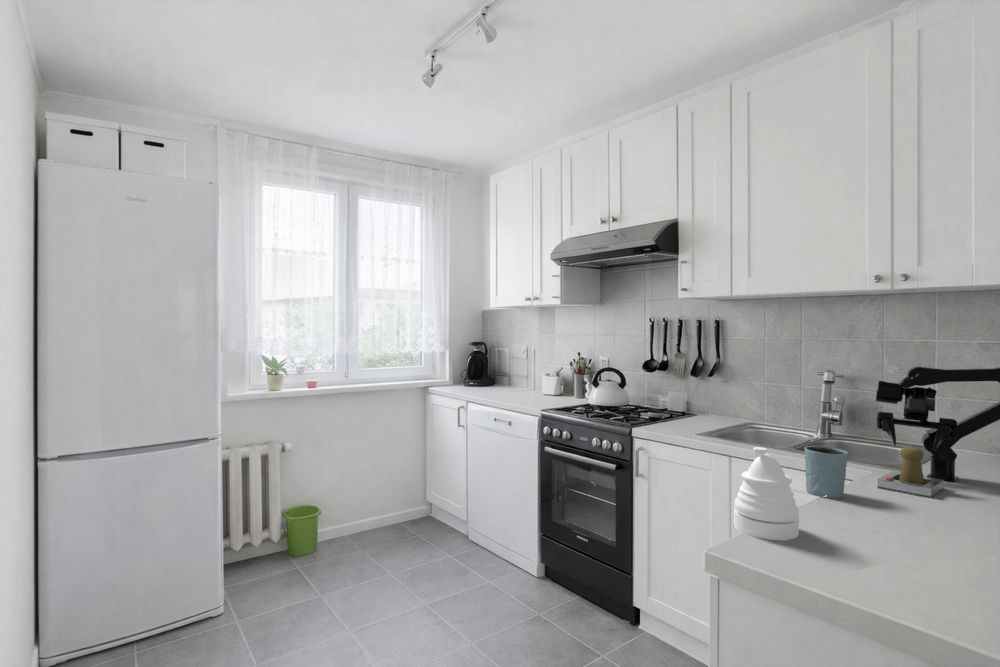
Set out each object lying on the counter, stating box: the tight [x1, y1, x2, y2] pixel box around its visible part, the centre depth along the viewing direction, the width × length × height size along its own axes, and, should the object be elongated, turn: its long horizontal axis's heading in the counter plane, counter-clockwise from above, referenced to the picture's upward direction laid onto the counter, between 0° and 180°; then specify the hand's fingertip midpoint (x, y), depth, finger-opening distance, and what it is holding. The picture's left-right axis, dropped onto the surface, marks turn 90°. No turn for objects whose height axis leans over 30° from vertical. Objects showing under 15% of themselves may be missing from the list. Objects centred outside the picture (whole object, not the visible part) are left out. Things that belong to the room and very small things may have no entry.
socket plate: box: [877, 470, 945, 499], centre depth 152 cm, size 14×12×3 cm
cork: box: [899, 446, 924, 485], centre depth 152 cm, size 6×6×11 cm
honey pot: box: [733, 446, 800, 541], centre depth 119 cm, size 13×13×18 cm
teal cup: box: [804, 445, 849, 499], centre depth 146 cm, size 10×10×12 cm
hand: (914, 447), depth 156 cm, fingers open, 9 cm apart
